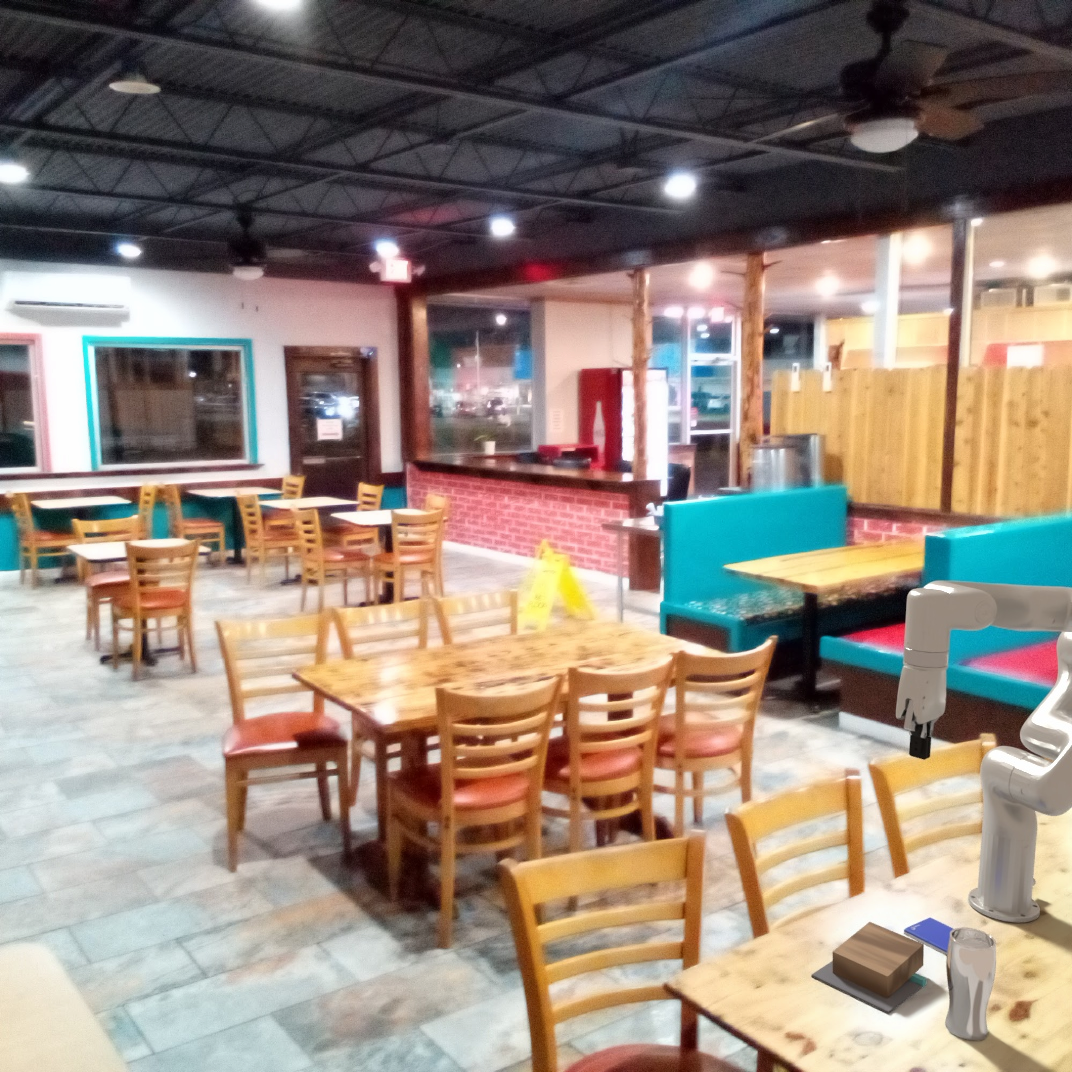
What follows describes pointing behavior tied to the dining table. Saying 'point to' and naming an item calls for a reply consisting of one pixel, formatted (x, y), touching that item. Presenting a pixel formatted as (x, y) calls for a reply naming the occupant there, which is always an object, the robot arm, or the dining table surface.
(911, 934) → the hard drive
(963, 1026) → the beer glass
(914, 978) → the stop strip
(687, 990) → the dining table surface
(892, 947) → the slab
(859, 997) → the mat
